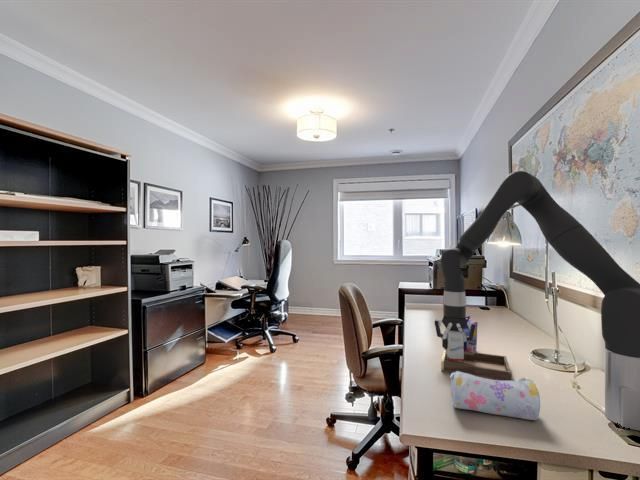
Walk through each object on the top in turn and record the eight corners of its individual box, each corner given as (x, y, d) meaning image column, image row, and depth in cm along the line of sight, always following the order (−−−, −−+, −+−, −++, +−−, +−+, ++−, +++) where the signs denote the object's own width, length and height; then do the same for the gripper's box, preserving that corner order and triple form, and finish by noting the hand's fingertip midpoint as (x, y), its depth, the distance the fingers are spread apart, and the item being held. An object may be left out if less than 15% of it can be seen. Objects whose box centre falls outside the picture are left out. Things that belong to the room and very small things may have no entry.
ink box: (464, 367, 114) (464, 333, 114) (449, 366, 115) (449, 332, 115) (459, 358, 122) (459, 327, 122) (445, 357, 123) (445, 326, 123)
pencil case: (532, 410, 87) (532, 374, 87) (545, 427, 79) (545, 388, 79) (448, 399, 93) (448, 365, 93) (452, 415, 85) (452, 378, 85)
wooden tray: (511, 382, 104) (511, 372, 104) (441, 371, 113) (441, 362, 113) (505, 364, 119) (505, 356, 119) (444, 356, 127) (444, 348, 127)
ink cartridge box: (461, 355, 129) (461, 318, 129) (449, 351, 134) (449, 315, 134) (478, 351, 133) (478, 315, 133) (466, 347, 138) (466, 313, 138)
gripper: (432, 303, 118) (432, 350, 118) (476, 307, 112) (476, 356, 112) (434, 300, 125) (434, 344, 125) (476, 303, 119) (476, 349, 119)
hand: (454, 349), depth 118 cm, fingers closed on ink box, 5 cm apart
